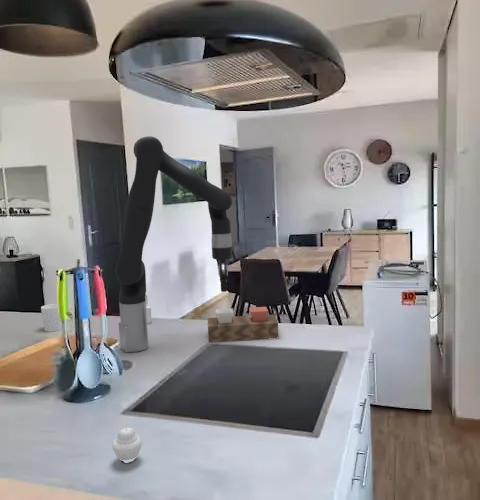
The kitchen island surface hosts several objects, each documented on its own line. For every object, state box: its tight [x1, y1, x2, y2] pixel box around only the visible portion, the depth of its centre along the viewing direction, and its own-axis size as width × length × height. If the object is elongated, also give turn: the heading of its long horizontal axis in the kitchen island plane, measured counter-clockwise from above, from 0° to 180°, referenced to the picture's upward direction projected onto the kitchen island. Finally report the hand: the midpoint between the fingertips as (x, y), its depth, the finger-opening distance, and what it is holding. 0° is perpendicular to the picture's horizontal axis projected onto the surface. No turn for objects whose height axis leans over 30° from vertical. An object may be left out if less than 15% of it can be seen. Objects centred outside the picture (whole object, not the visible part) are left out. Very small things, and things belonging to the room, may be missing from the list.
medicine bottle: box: [146, 295, 153, 325], centre depth 204 cm, size 7×7×12 cm
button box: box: [207, 314, 279, 343], centre depth 182 cm, size 26×12×6 cm, turn 94°
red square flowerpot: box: [248, 306, 269, 322], centre depth 182 cm, size 7×7×6 cm
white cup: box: [40, 303, 62, 333], centre depth 198 cm, size 8×8×10 cm
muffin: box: [111, 427, 143, 460], centre depth 101 cm, size 6×6×7 cm
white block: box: [215, 307, 235, 324], centre depth 181 cm, size 7×7×6 cm
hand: (223, 291), depth 180 cm, fingers closed
